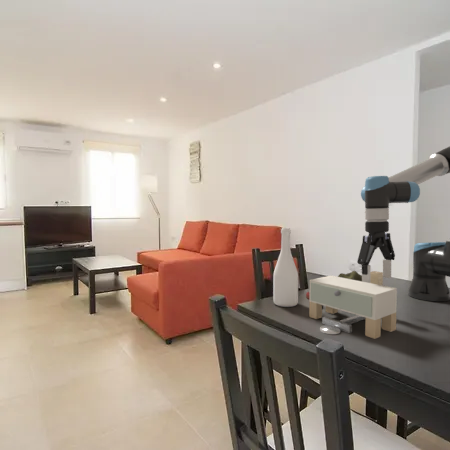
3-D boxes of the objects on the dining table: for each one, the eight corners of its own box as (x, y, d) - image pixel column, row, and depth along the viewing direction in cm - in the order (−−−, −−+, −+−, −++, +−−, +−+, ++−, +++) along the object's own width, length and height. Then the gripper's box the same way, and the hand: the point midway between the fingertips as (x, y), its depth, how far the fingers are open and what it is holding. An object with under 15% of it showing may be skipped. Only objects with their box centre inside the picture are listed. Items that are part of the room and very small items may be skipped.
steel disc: (336, 328, 106) (336, 325, 106) (343, 335, 100) (343, 332, 100) (317, 328, 106) (317, 325, 106) (323, 335, 100) (323, 332, 100)
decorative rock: (380, 299, 142) (383, 276, 141) (351, 301, 136) (355, 277, 135) (354, 288, 156) (357, 267, 154) (327, 289, 150) (330, 267, 148)
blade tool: (366, 308, 124) (367, 269, 123) (393, 316, 116) (394, 273, 115) (322, 323, 109) (322, 278, 108) (349, 333, 101) (350, 284, 100)
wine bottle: (282, 308, 125) (282, 229, 123) (268, 302, 134) (268, 227, 132) (302, 305, 129) (303, 228, 127) (288, 299, 137) (289, 227, 136)
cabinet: (330, 310, 123) (331, 275, 122) (396, 329, 103) (396, 288, 102) (306, 317, 115) (306, 280, 114) (371, 340, 95) (372, 295, 94)
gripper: (385, 218, 127) (385, 273, 128) (346, 222, 112) (346, 284, 113) (405, 219, 120) (405, 276, 122) (366, 223, 106) (367, 288, 107)
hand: (377, 280), depth 118 cm, fingers open, 13 cm apart
